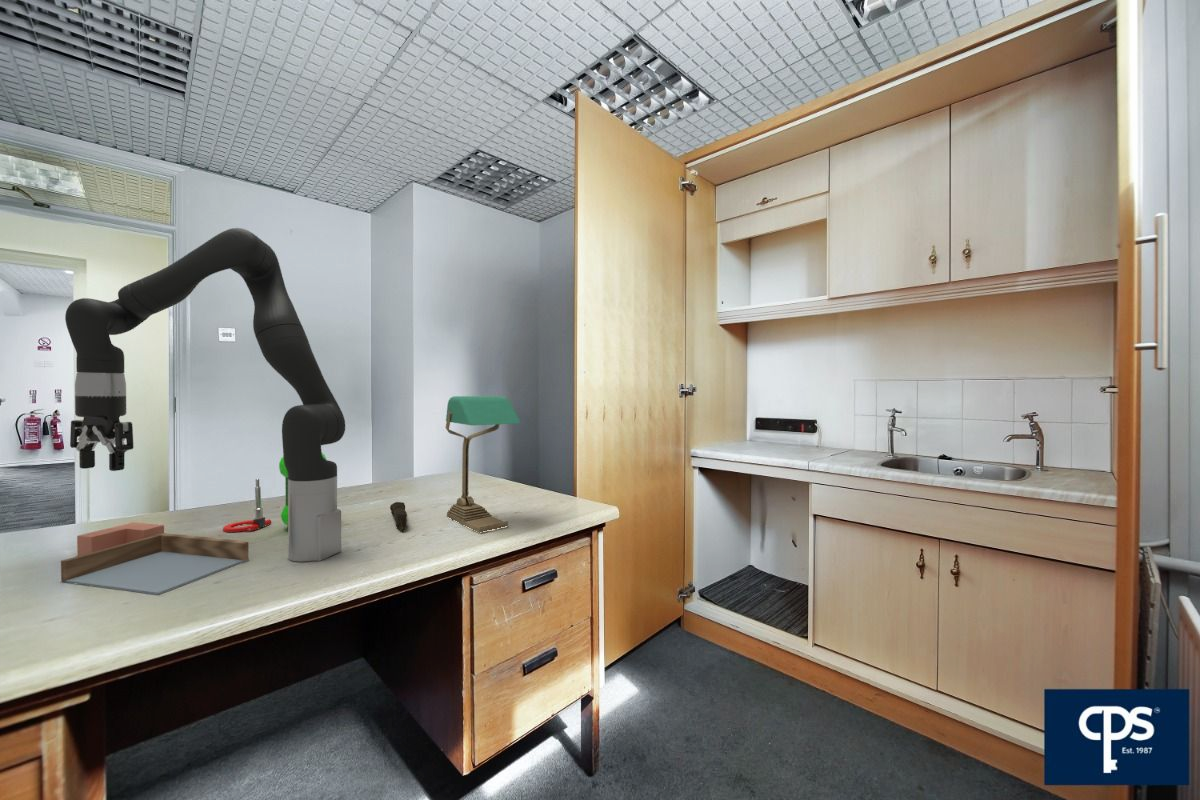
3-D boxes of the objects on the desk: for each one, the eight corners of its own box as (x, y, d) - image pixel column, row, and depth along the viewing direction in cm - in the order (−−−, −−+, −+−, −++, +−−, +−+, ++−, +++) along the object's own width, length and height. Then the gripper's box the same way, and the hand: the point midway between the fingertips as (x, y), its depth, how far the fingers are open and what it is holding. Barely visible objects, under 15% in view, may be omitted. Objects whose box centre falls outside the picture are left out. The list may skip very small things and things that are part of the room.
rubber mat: (248, 560, 99) (248, 558, 99) (158, 594, 82) (158, 592, 82) (163, 550, 103) (163, 548, 103) (61, 581, 87) (61, 579, 87)
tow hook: (214, 534, 117) (249, 533, 116) (211, 483, 117) (247, 482, 116) (241, 524, 125) (274, 523, 125) (239, 476, 125) (272, 476, 125)
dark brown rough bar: (390, 515, 135) (390, 499, 135) (405, 514, 136) (405, 498, 136) (390, 535, 118) (390, 517, 117) (408, 533, 119) (407, 515, 119)
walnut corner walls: (248, 560, 99) (248, 541, 99) (158, 594, 82) (157, 572, 82) (163, 550, 103) (163, 532, 103) (61, 581, 87) (60, 560, 87)
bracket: (164, 546, 106) (164, 525, 106) (110, 562, 96) (109, 539, 96) (133, 543, 108) (133, 522, 108) (77, 559, 98) (77, 535, 98)
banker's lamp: (485, 510, 141) (486, 395, 140) (522, 526, 126) (524, 397, 125) (434, 519, 131) (435, 395, 130) (469, 538, 115) (470, 397, 114)
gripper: (147, 394, 102) (147, 468, 102) (98, 393, 105) (99, 464, 105) (104, 395, 94) (104, 474, 95) (53, 393, 97) (54, 470, 98)
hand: (101, 469), depth 100 cm, fingers open, 8 cm apart
